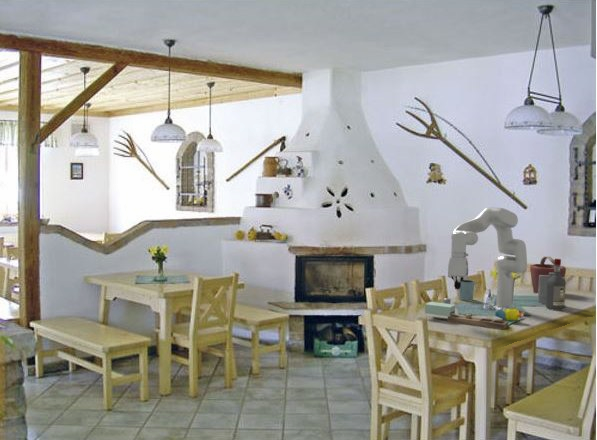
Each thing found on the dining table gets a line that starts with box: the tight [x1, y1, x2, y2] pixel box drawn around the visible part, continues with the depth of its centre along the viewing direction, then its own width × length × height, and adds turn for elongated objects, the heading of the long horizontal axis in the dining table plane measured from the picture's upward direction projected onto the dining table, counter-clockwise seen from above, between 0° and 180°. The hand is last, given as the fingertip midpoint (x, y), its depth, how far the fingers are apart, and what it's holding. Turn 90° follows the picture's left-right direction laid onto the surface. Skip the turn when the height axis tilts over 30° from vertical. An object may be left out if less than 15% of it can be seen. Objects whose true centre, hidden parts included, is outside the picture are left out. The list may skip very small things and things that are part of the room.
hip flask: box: [537, 273, 566, 305], centre depth 422 cm, size 16×4×20 cm, turn 51°
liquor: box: [545, 258, 567, 311], centre depth 409 cm, size 9×9×30 cm
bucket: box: [529, 256, 567, 294], centre depth 464 cm, size 24×22×25 cm
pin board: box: [447, 313, 510, 330], centre depth 363 cm, size 9×30×4 cm, turn 59°
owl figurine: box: [494, 307, 526, 326], centre depth 371 cm, size 28×9×15 cm
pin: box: [442, 298, 452, 304], centre depth 389 cm, size 4×4×8 cm
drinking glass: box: [458, 279, 476, 302], centre depth 433 cm, size 10×10×12 cm
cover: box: [424, 301, 456, 317], centre depth 373 cm, size 9×14×5 cm, turn 59°
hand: (457, 288), depth 368 cm, fingers closed
